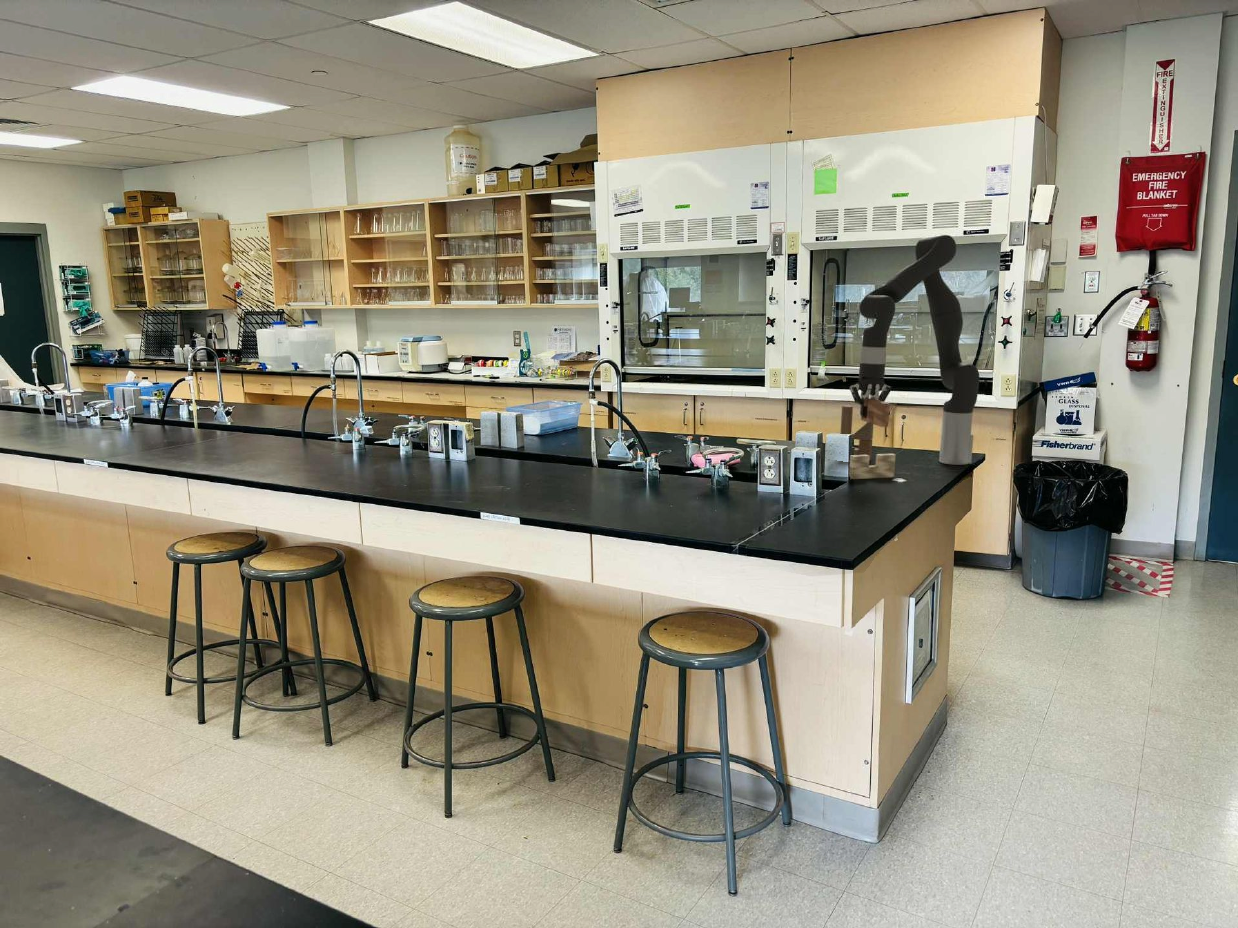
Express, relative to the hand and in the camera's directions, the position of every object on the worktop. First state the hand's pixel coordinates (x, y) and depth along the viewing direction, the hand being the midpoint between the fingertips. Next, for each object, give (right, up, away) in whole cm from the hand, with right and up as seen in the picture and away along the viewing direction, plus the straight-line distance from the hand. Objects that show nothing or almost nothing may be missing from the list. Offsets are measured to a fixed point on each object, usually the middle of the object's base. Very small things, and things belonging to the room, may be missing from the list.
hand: (868, 417), depth 267 cm
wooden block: (+3, -13, +27) cm, 30 cm away
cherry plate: (+1, -2, -4) cm, 4 cm away
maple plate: (+1, -19, -1) cm, 19 cm away
